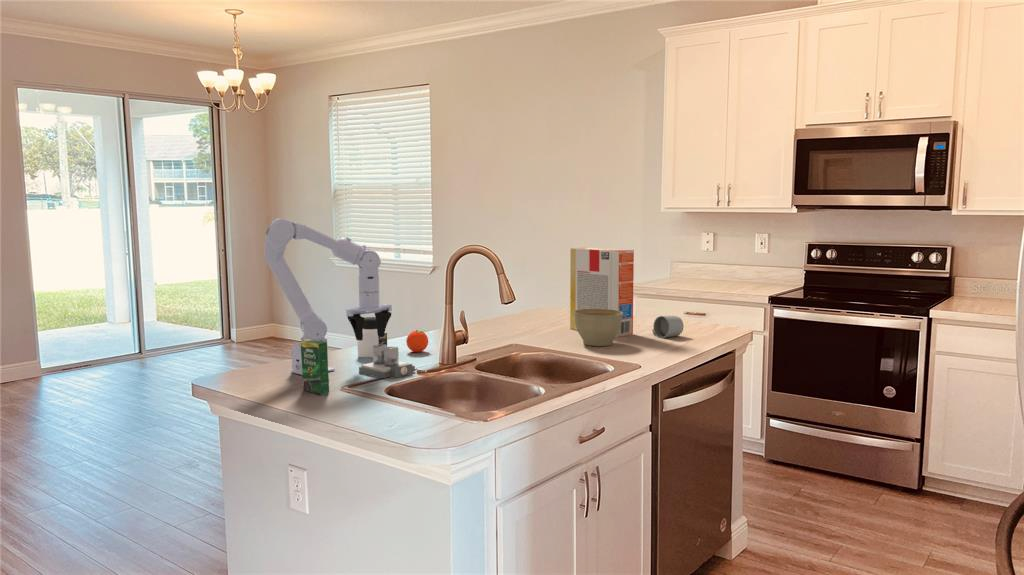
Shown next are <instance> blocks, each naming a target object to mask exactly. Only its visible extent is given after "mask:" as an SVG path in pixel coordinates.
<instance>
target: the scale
mask: <svg viewBox="0 0 1024 575" xmlns="http://www.w3.org/2000/svg"><path fill="white" fill-rule="evenodd" d="M360 365H361V366H359V367H358V373H359V374H364V375H366V376H367V375H368V376H371V377H376V378H378V379H379V378H380V379H383V378H384V379H388V377H389V378H394V379H397V378H401V377H405V376H410V375H413V373H414V372H413V371H416V366H415V365H413V363H410V362H405V361H401V360H399V365H397V366H393V367H385V366H384V364H381V365H377V364H373V362H369V363H364V364H360Z"/></svg>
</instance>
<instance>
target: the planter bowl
mask: <svg viewBox="0 0 1024 575" xmlns="http://www.w3.org/2000/svg"><path fill="white" fill-rule="evenodd" d="M574 316H575V324H576V328H577V330H576V331H577V332H578V334H579V336H580V337H581V339H582V342H583V344H584V345H587V346H591V347H592V346H593V347H594V346H595V347H596V346H597V347H605V346H610V345H611V346H612V344H613V341H614V340H615V338H617V337H616V335H617V334H618V332H619V330H620V327H621V323H622V316H623V312H621V311H618V310H612V309H580V310H575V311H574Z"/></svg>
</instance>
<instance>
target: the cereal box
mask: <svg viewBox="0 0 1024 575" xmlns="http://www.w3.org/2000/svg"><path fill="white" fill-rule="evenodd" d="M634 254H635V250H634V249H622V248H621V249H620V248H606V247H605V248H600V247H572V248H570V254H569V255H570V257H569V258H570V260H569V261H570V278H569V279H570V281H569V282H570V284H569V286H570V291H569V292H570V296H569V297H570V298H569V300H570V305H569V306H570V309H569V310H570V311H569V312H570V314H569V316H570V317H569V318H570V320H569V321H570V323H569V324H570V326H569V327H570V330H573V329H574V331H578V330H577V328H576V324H575V316H574V311H575V310H580V309H612V310H618V311H621V312H623V316H622V323H621V327H620V330H619V332H618V334H617V335H616V337H615V338H620V337H626V336H631V335H633V334H634V278H635V277H634V274H635V273H634V269H635V268H634V266H635V264H634V263H635V262H634V260H635V259H634V258H635V257H634Z"/></svg>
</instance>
